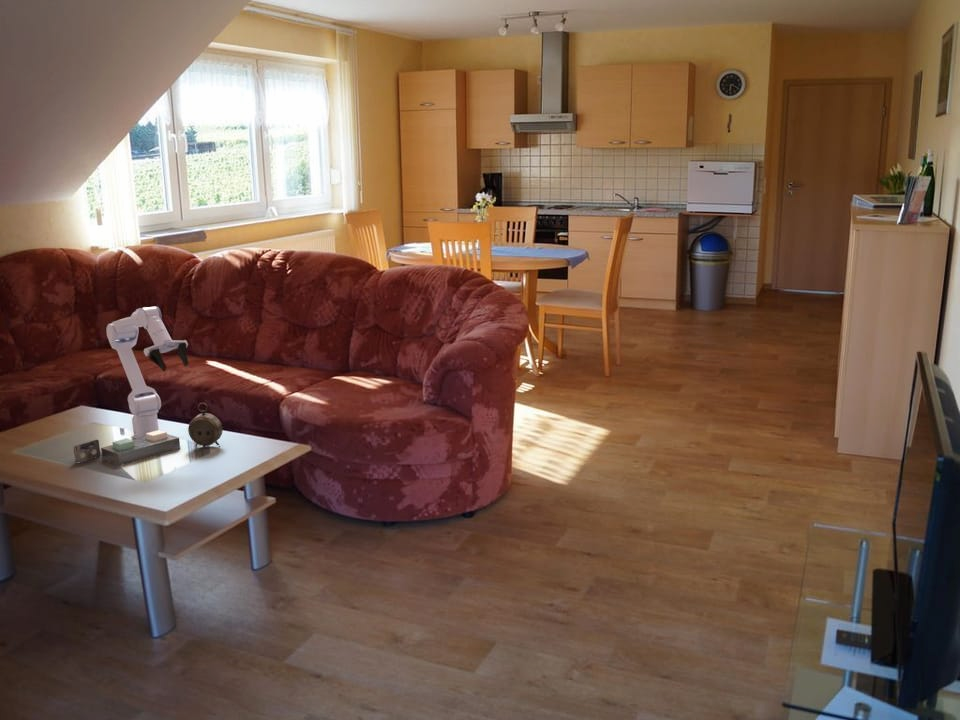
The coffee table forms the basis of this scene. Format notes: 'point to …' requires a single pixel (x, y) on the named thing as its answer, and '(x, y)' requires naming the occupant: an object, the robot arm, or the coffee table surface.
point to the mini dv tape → (86, 451)
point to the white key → (156, 435)
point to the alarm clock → (205, 429)
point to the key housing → (140, 450)
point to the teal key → (123, 444)
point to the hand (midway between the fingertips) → (176, 366)
